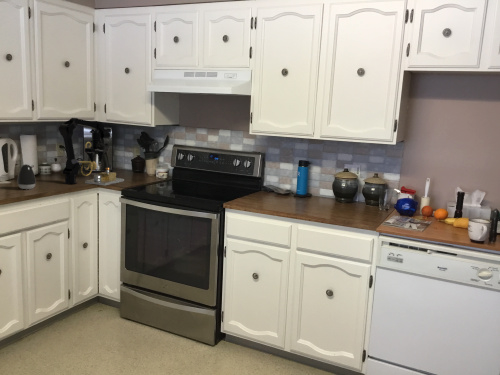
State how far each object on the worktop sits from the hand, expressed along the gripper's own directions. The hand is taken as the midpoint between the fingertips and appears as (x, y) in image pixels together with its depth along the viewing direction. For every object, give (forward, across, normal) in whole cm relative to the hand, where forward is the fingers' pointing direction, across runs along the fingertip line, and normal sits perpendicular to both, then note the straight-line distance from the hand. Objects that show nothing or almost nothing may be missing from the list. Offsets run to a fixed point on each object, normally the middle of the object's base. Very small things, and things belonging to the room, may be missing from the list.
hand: (96, 161), depth 323 cm
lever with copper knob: (+12, -1, -10) cm, 15 cm away
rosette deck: (+13, -4, -10) cm, 17 cm away
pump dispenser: (+13, -51, +12) cm, 54 cm away
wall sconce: (+13, +10, +16) cm, 23 cm away
